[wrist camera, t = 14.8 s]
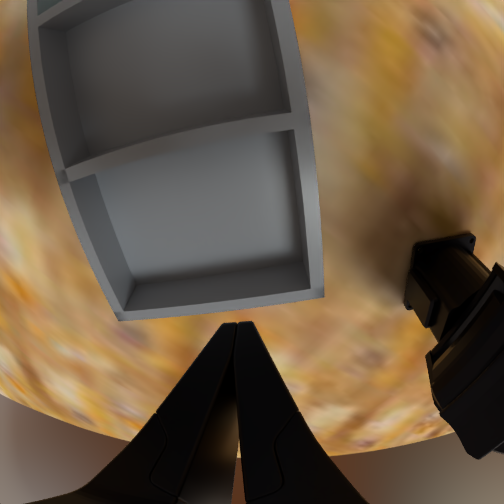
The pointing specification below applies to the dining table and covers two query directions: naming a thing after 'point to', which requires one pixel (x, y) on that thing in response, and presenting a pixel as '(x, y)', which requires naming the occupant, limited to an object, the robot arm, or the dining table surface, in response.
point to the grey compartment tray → (182, 150)
